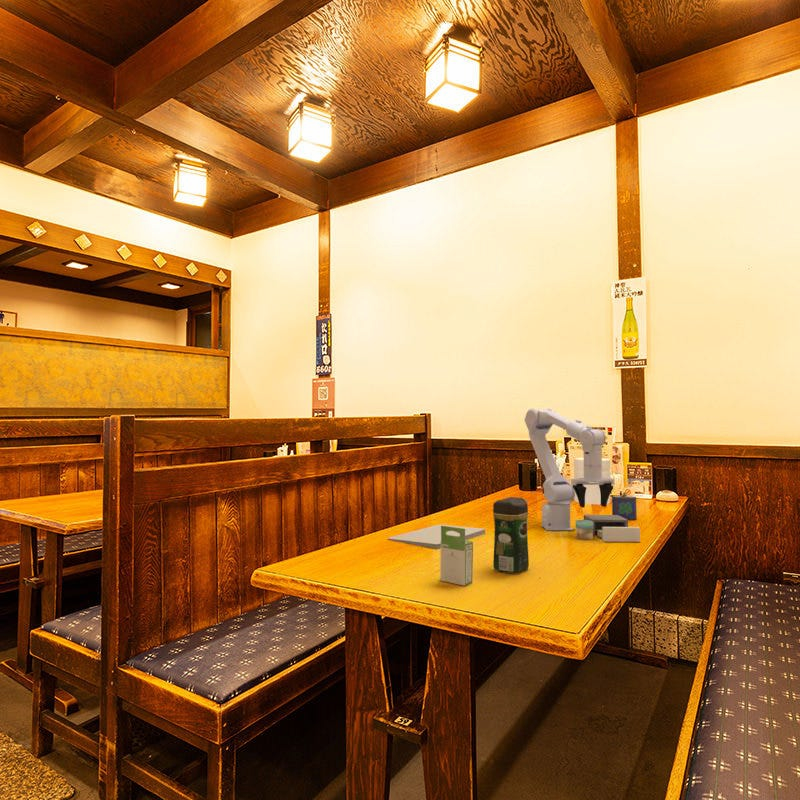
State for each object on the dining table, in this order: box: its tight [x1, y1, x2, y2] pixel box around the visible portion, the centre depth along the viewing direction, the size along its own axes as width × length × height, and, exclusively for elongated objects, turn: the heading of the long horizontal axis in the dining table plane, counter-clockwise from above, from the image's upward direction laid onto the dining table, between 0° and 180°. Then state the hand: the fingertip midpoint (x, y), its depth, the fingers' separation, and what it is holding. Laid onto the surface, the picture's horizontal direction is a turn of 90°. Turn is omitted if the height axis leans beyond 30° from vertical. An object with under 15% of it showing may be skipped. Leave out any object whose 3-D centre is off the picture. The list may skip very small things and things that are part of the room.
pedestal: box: [576, 528, 594, 541], centre depth 177 cm, size 4×4×4 cm
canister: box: [573, 457, 612, 506], centre depth 253 cm, size 16×16×20 cm
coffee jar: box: [492, 496, 530, 574], centre depth 141 cm, size 10×8×19 cm
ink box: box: [439, 525, 474, 587], centre depth 130 cm, size 7×4×13 cm, turn 52°
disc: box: [575, 519, 593, 529], centre depth 177 cm, size 6×6×2 cm
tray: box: [596, 526, 641, 543], centre depth 176 cm, size 12×9×4 cm
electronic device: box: [387, 524, 486, 550], centre depth 179 cm, size 29×20×2 cm
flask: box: [611, 491, 638, 521], centre depth 210 cm, size 9×3×11 cm, turn 87°
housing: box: [583, 514, 629, 536], centre depth 186 cm, size 12×9×5 cm
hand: (592, 506), depth 179 cm, fingers open, 7 cm apart
